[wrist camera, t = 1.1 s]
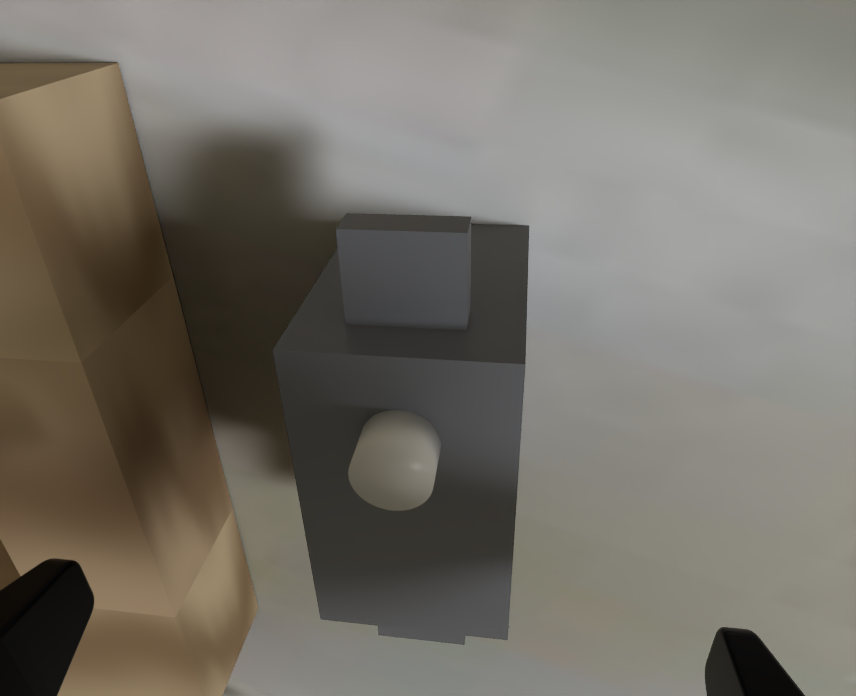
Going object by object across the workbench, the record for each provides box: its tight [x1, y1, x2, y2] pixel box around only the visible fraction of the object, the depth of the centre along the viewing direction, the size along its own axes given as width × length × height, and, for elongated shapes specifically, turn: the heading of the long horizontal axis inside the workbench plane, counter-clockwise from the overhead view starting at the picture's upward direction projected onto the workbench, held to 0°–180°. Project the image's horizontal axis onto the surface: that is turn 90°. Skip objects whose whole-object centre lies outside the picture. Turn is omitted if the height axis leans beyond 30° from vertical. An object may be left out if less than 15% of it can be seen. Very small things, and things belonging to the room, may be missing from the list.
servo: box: [272, 213, 529, 645], centre depth 12 cm, size 9×4×6 cm, turn 2°
